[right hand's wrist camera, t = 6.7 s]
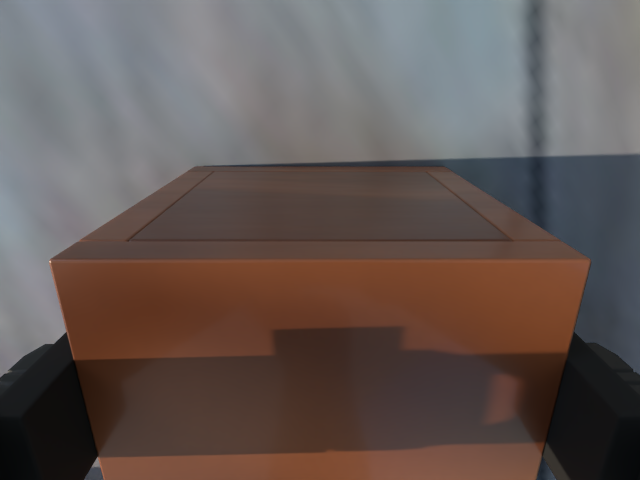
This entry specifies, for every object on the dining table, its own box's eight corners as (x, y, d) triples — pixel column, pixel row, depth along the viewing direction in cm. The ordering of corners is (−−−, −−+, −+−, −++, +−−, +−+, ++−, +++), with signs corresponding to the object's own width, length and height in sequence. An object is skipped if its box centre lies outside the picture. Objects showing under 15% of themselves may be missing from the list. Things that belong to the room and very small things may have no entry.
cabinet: (410, 492, 24) (468, 751, 14) (229, 492, 23) (171, 752, 14) (445, 166, 17) (594, 259, 8) (194, 166, 17) (46, 259, 8)
